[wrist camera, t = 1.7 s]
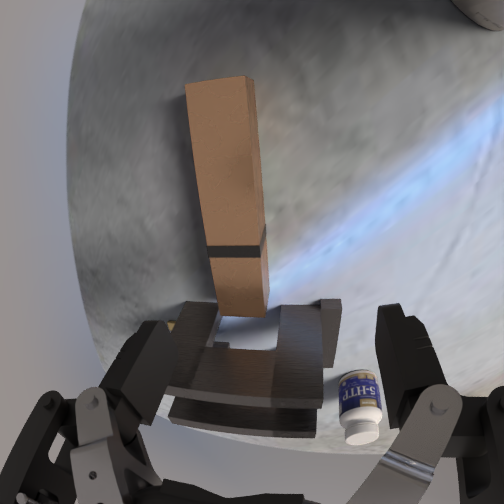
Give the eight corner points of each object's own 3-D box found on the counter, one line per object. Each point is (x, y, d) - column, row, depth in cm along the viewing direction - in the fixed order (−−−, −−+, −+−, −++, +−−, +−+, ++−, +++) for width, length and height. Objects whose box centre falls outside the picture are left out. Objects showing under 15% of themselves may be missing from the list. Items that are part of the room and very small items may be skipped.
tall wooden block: (202, 86, 20) (184, 84, 16) (254, 80, 19) (245, 75, 16) (229, 289, 29) (219, 316, 25) (270, 290, 28) (265, 318, 25)
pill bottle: (375, 364, 32) (384, 425, 24) (378, 386, 34) (385, 441, 26) (334, 374, 33) (336, 435, 26) (341, 394, 35) (343, 449, 28)
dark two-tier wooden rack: (159, 294, 31) (113, 369, 21) (340, 299, 27) (351, 392, 18) (178, 349, 35) (148, 420, 25) (332, 358, 32) (334, 440, 22)
